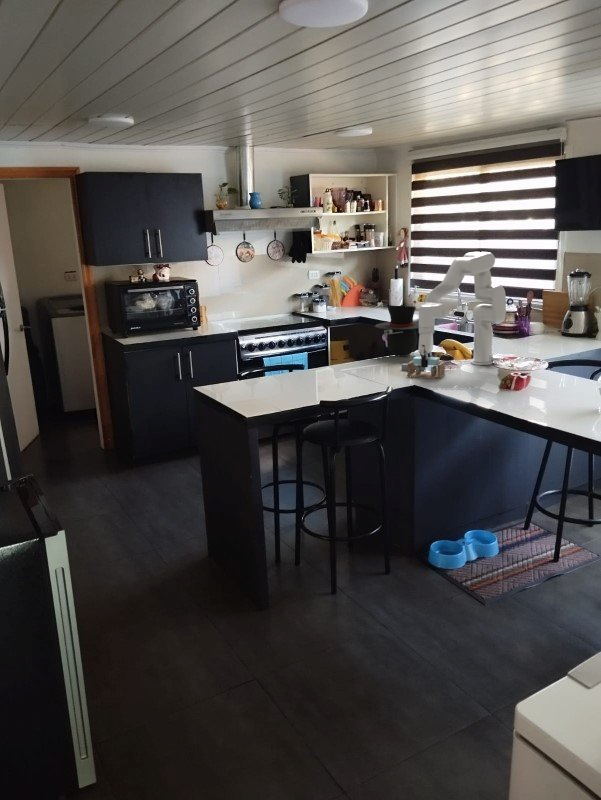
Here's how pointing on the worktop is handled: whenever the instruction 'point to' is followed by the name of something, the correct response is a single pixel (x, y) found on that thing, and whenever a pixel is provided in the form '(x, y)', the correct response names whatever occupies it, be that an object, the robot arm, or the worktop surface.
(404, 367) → the riser
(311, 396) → the worktop surface
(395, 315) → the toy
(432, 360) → the shelf board
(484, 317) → the robot arm
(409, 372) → the peg cradle
